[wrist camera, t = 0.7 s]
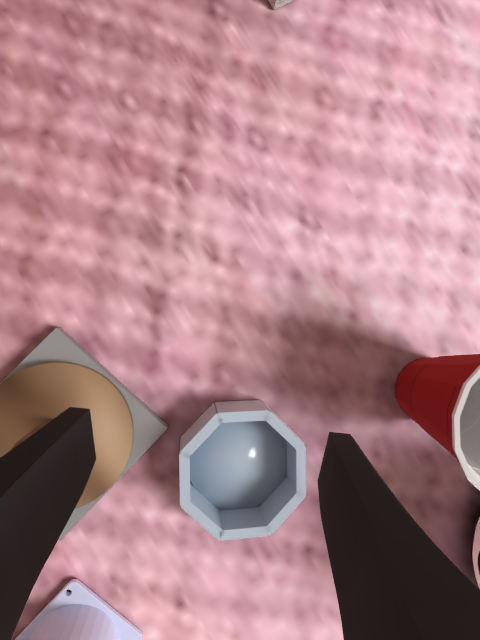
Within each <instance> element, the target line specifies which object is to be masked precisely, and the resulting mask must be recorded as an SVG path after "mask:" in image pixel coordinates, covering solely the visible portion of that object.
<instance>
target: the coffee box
mask: <svg viewBox="0 0 480 640" xmlns="http://www.w3.org/2000/svg"><path fill="white" fill-rule="evenodd" d="M268 1H269V3H270V5H271V6H272V8H273V9H277V8H279V7H281V6H283V5H285V4H287V3H289V2H291V1H293V0H268Z"/></svg>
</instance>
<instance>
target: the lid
mask: <svg viewBox="0 0 480 640" xmlns="http://www.w3.org/2000/svg"><path fill="white" fill-rule="evenodd" d="M69 407H76V408H86V409H90V413H91V421H92V429H93V437H94V445H95V453H96V461H95V464H94V466H93V469H92V472H91V474H90V477H89V479H88V482H87V484H86V487H85V489H84V492H83V494H82V496H81V498H80V500H79V501H78V503H77V505H76V507H75V509H76V508H79V507H81V506H84V505H86V504H88V503H90V502H92V501H93V500H95V499H97V498H98V497H99V496H101V495H102V494H104V493H105V492H106V491H107V490H108V489H109V488H110V487H111V486H112V485H113V484H114V483H115V481H116V480H117V479H118V477H119V476H120V474H121V473H122V471H123V469H124V467H125V465H126V463H127V461H128V458H129V456H130V452H131V449H132V444H133V436H134V428H133V419H132V415H131V411H130V409H129V406H128V404H127V402H126V400H125V398H124V396H123V395H122V393H121V392H120V391H119V389H118V388H117V387H116V386H115V385H114V384H113V383H112V382H111V381H110V380H109V379H108V378H106V377H105V376H104V375H102V374H101V373H99V372H97V371H96V370H93V369H91V368H89V367H86V366H83V365H79V364H75V363H69V362H49V363H43V364H38V365H35V366H32V367H29V368H26V369H23V370H21V371H19V372H17V373H15V374H13V375H11V376H10V377H8V378H7V379H5V380H4V381H3V382H2V383H0V457H2V456H3V455H5V454H6V453H8V452H9V451H10V450H12V449H13V448H15V447H16V446H17V445H19V444H20V443H21V442H23V441H24V440H26V439H27V438H28V437H30V436H31V435H33V434H34V433H35V432H37V431H38V430H39V429H41V428H42V427H43V426H45V425H46V424H47V423H49V422H50V421H51V420H53V419H54V418H55V417H57V416H58V415H59V414H61V413H62V412H63V411H65V410H66V409H68V408H69Z"/></svg>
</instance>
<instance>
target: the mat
mask: <svg viewBox="0 0 480 640" xmlns="http://www.w3.org/2000/svg"><path fill="white" fill-rule="evenodd" d="M49 362H69V363H75V364H79V365H83V366H86V367H89V368H91V369H93V370H96V371H97V372H99V373H101V374H102V375H104V376H105V377H106V378H108V379H109V380H110V381H111V382H112V383H113V384H114V385H115V386H116V387H117V388H118V389H119V391H120V392H121V393H122V395H123V396H124V398H125V400H126V402H127V404H128V406H129V409H130V411H131V415H132V419H133V428H134V436H133V444H132V449H131V452H130V456H129V458H128V461H127V463H126V465H125V467H124V469H123V471H122V473H121V474H120V476H119V477H118V479H117V480H116V481H115V483H116V482H117V481H118V480H119V479H120V478H121V477H122V476H123V475H124V474H125V473H126V472H127V471H128V470H129V468H130V467H131V466H132V465H133V464H134V463H135V462H136V461H137V460H138V459H139V458H140V457H141V456H142V455H143V454H144V453H145V452H146V451H147V450H148V449H149V448H150V446H151V445H152V444H153V443H154V442H155V441H156V440H157V439H158V438H159V437H160V436H161V435H162V434H163V433H164V432H165V431H166V430H167V428H168V425H167V424H166V423H165V422H164V421H163V420H162V419H161V418H160V417H158V416H157V415H156V414H155V413H154V412H153V411H152V410H151V409H150V408H149V407H147V406H146V405H145V404H144V403H143V402H142V401H141V400H140V399H139V398H138V397H136V396H135V395H134V394H133V393H132V392H131V391H130V390H129V389H128V388H127V387H125V386H124V385H123V384H122V383H121V382H120V381H119V380H118V379H117V378H116V377H114V376H113V375H112V374H111V373H110V372H109V371H108V370H107V369H106V368H105V367H104V366H102V365H101V364H100V363H99V362H98V361H97V360H96V359H95V358H94V357H93V356H91V355H90V354H89V353H88V352H87V351H86V350H85V349H84V348H83V347H82V346H80V345H79V344H78V343H77V342H76V341H75V340H74V339H73V338H72V337H71V336H69V335H68V334H67V333H66V332H65V331H64V330H63V329H62V328H61V327H59V328H55V329H54V330H53V331H52V332H51V333H50V334H49V335H48V336H47V337H46V338H45V339H44V340H43V341H42V342H41V343H40V344H39V345H38V346H37V347H36V348H35V349H34V350H33V351H32V352H31V353H30V354H29V355H28V356H27V357H26V358H25V359H24V360H23V361H22V362H21V363H20V364H19V365H18V366H17V367H16V368H15V369H14V370H13V371H12V372H11V373H9V374H8V375H7V376H6V377H5V378H4V379H3V380H2V381H1V382H0V383H2V382H3V381H4V380H5V379H7V378H8V377H10V376H11V375H13V374H15V373H17V372H19V371H21V370H23V369H26V368H29V367H32V366H35V365H38V364H43V363H49ZM115 483H114V484H115ZM114 484H113V485H114ZM113 485H112V486H113ZM112 486H111V487H112ZM111 487H110V488H111ZM110 488H109V489H110ZM109 489H108V490H109ZM108 490H107V491H106V492H105V493H104V494H102V495H101V496H99V497H98V498H97V499H95V500H93V501H92V502H90V503H88V504H86V505H84V506H81V507H79V508H76V509H74V511H73V513H72V515H71V516H70V518H69V520H68V522H67V524H66V526H65V528H64V529H63V531H62V533H61V535H60V537H59V539H60V540H62V539H63V538H64V537H65V535H66V534H67V533H68V532H69V531H70V530H71V529H72V528H73V527H74V526H75V525H76V524H77V523H78V522H79V521H80V520H81V519H82V518H83V517H84V516H85V515H86V513H87V512H88V511H89V510H90V509H91V508H92V507H93V506H94V505H95V504H96V503H97V502H98V501H99V500H100V499H101V498H102V497H103V496H104V495H105V494H106V493H107V492H108Z"/></svg>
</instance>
